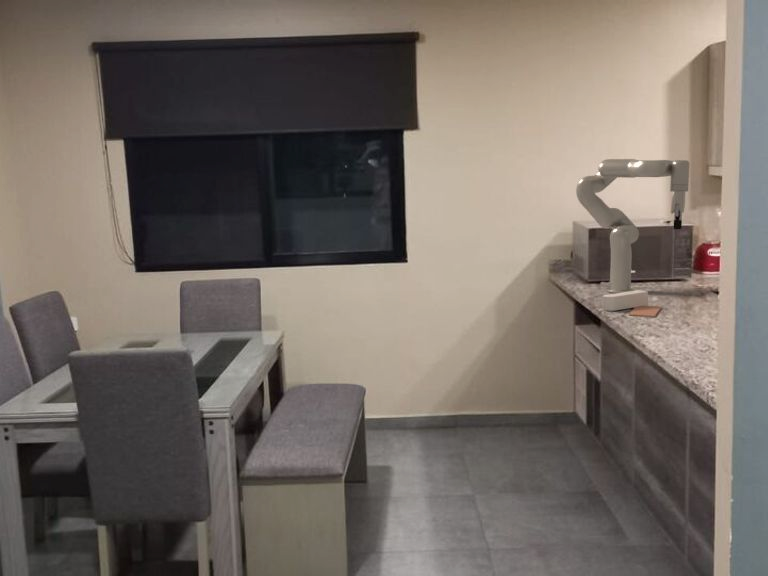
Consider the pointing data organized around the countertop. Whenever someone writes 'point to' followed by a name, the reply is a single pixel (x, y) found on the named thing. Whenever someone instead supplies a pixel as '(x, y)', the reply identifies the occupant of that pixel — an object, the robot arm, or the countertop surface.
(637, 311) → the mat
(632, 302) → the milk
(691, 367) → the countertop surface
